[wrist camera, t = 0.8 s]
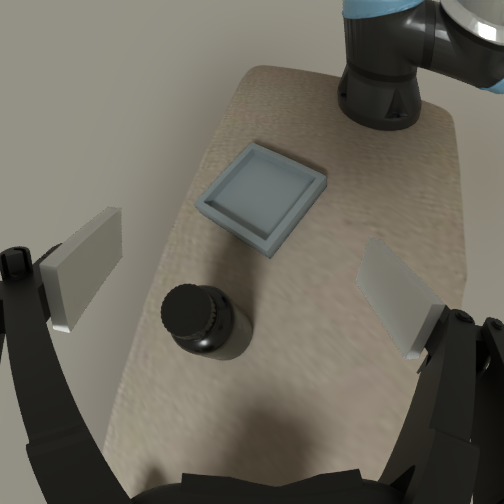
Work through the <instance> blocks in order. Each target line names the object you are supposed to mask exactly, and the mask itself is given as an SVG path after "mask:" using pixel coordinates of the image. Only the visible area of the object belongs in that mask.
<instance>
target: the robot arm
mask: <svg viewBox="0 0 504 504" xmlns="http://www.w3.org/2000/svg"><path fill="white" fill-rule="evenodd" d="M342 15H343V18H344V29H345V43H346V59H347V64H346V67H345V70H344V72H343V75H342V78H341V80H340V83H339V86H338V104H339V106H340V108H341V110H342V111H343V112H344V113H345V114H346V115H347V116H348V117H349V118H350V119H352V120H353V121H355V122H357V123H359V124H361V125H364V126H366V127H370V128H373V129H378V130H386V131H394V130H401V129H405V128H408V127H410V126H412V125H413V124H414V123H415V122H416V121H417V120H418V118H419V115H420V110H421V97H420V92H419V87H418V83H417V78H416V73H417V67H420V68H424V69H427V70H430V71H434V72H437V73H440V74H443V75H446V76H448V77H451V78H454V79H457V80H460V81H462V82H465V83H467V84H470V85H472V86H475V87H476V88H479V89H481V90H487V91H490V92H492V93H495V94H504V0H440V2H436V1H432V0H343V11H342ZM121 258H122V238H121V208H115V207H107V208H106V209H105V210H103V211H102V212H101V213H100V214H98V215H97V216H96V217H94V218H93V219H92V220H91V221H89V222H88V223H87V224H86V225H84V226H83V227H82V228H81V229H80V230H78V231H77V232H76V233H75V234H73V235H72V236H71V237H70V238H69V239H67V240H66V241H65V242H64V243H60V244H58V245H56V246H54V247H52V248H51V249H50V250H49V251H47V252H46V254H44V255H43V256H42V257H41V258H39V259H38V260H37V261H36V262H35V263H34V264H33V265H32V260H31V255H30V250H29V249H28V248H26V247H20V246H19V247H12V248H9V249H7V250H5V251H3V252H1V253H0V272H1V276H2V281H0V362H1V355H2V349H3V343H4V338H5V334H6V339H7V347H8V353H9V360H10V366H11V371H12V376H13V381H14V386H15V390H16V395H17V399H18V403H19V407H20V411H21V415H22V418H23V422H24V425H25V428H26V431H27V435H28V438H29V444H27V445H26V451H27V454H28V458H29V461H30V463H31V466H32V469H33V471H34V474H35V476H36V479H37V481H38V484H39V486H40V488H41V491H42V493H43V495H44V497H45V500H46V502H47V504H470V502H471V498H472V494H473V504H504V324H503V323H502V322H501V321H500V320H498V319H495V318H491V317H488V318H487V319H486V320H485V322H484V324H483V326H478V325H475V322H474V320H473V318H472V317H471V316H469V315H468V314H467V313H466V312H464V311H461V310H458V309H452V310H450V309H449V308H448V306H447V305H446V304H445V303H444V302H443V301H442V300H441V299H440V298H439V297H438V296H437V295H436V294H435V293H434V292H433V290H432V289H431V288H430V287H429V286H428V285H427V284H426V283H425V282H424V281H423V280H422V279H421V278H420V277H419V276H418V275H417V274H416V273H415V272H414V271H413V270H412V269H411V268H410V267H409V266H408V265H407V264H406V263H405V262H404V261H403V260H402V259H401V258H400V257H399V256H397V255H396V254H395V253H394V252H393V251H392V250H391V249H390V248H389V247H388V246H387V245H386V244H385V243H384V242H383V241H382V240H380V239H376V238H369V237H368V241H367V244H366V248H365V251H364V255H363V258H362V261H361V264H360V268H359V271H358V274H357V277H356V280H355V282H356V284H357V285H358V287H359V288H360V290H361V291H362V293H363V294H364V296H365V297H366V299H367V300H368V302H369V303H370V305H371V306H372V308H373V310H374V311H375V313H376V314H377V316H378V317H379V319H380V320H381V322H382V324H383V325H384V327H385V328H386V330H387V332H388V333H389V335H390V336H391V338H392V340H393V341H394V343H395V345H396V346H397V348H398V350H399V351H400V353H401V355H402V356H403V358H404V360H405V359H418V358H419V356H420V354H421V352H422V351H423V349H424V347H425V348H426V350H427V351H428V354H427V356H426V358H425V360H424V361H423V363H422V365H421V366H420V368H419V370H418V371H417V373H418V374H419V373H420V371H421V373H420V377H419V380H418V384H417V387H416V390H415V393H414V396H413V399H412V402H411V405H410V408H409V411H408V414H407V416H406V419H405V422H404V424H403V427H402V430H401V432H400V435H399V437H398V440H397V442H396V444H395V447H394V449H393V451H392V454H391V456H390V458H389V460H388V463H387V465H386V467H385V469H384V471H383V473H382V475H381V477H380V479H379V480H378V482H377V481H373V480H367V479H362V477H361V474H360V470H359V469H354V470H348V471H341V472H334V473H326V474H319V475H316V476H314V477H311V478H307V479H304V480H301V481H298V482H295V483H291V484H288V485H284V486H280V487H273V486H267V485H262V484H257V483H253V482H248V481H244V480H239V479H235V478H231V477H222V476H208V475H197V474H187V473H182V482H181V483H174V484H168V485H163V486H159V487H156V488H152V489H150V490H147V491H145V492H142V493H140V494H139V495H137V496H135V497H133V498H132V499H130V498H129V496H128V495H127V494H126V492H125V491H124V489H123V488H122V486H121V485H120V483H119V482H118V480H117V478H116V477H115V475H114V474H113V472H112V471H111V469H110V467H109V466H108V464H107V462H106V461H105V459H104V457H103V455H102V454H101V452H100V450H99V448H98V447H97V445H96V443H95V441H94V439H93V437H92V435H91V434H90V432H89V430H88V428H87V426H86V424H85V422H84V420H83V418H82V416H81V414H80V412H79V410H78V408H77V405H76V403H75V401H74V398H73V396H72V394H71V391H70V389H69V387H68V384H67V382H66V379H65V377H64V374H63V372H62V369H61V366H60V364H59V361H58V358H57V355H56V352H55V350H54V347H53V343H52V340H51V338H50V334H49V331H48V328H47V324H46V322H47V321H48V319H49V318H50V317H51V321H52V324H53V327H54V329H55V330H59V331H63V332H68V333H70V332H71V331H72V329H73V328H74V326H75V324H76V323H77V321H78V320H79V318H80V317H81V315H82V314H83V312H84V311H85V309H86V308H87V306H88V305H89V303H90V302H91V300H92V299H93V297H94V296H95V294H96V293H97V291H98V290H99V288H100V287H101V285H102V284H103V283H104V281H105V280H106V278H107V277H108V276H109V274H110V273H111V271H112V270H113V269H114V267H115V266H116V265H117V263H118V262H119V260H120V259H121ZM489 362H490V363H489ZM488 364H489V366H488V367H487V365H488ZM486 367H487V369H486ZM470 439H471V442H470Z"/></svg>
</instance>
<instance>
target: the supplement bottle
mask: <svg viewBox="0 0 504 504" xmlns="http://www.w3.org/2000/svg"><path fill="white" fill-rule="evenodd" d="M161 319H162V323H163V324H164V327H165V328H167V331H168V332H170V333H171V335H172V337H173V339H174V341H175V342H176V343H177V344H178V345H179V346H180V347H181V348H182V349H184V350H185V351H187V352H190V353H192V354H196V355H200V356H204V357H208V358H212V359H216V360H231V359H234V358H236V357H238V356H240V355H241V354H242V353H243V352H244V351H245V350H246V349H247V347H248V346H249V344H250V342H251V338H252V325H251V322H250V320H249V318H248V316H247V315H246V314H245V313H244V311H243V310H242V309H241V308H240V307H239V306H238V305H236V304H235V303H234V302H233V301H232V300H231V299H230V298H229V297H228V296H227V295H226V294H225V293H224V292H222V291H221V290H219V289H218V288H215V287H212V286H207V285H200V286H197V285H195V284H193V285H192V284H183V285H179V286H178V287H175V288H174V289H172V290H171V291H170V292H169V293H168V294H167V296H166V297H165V298H164V301H163V302H162V306H161Z"/></svg>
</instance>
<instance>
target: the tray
mask: <svg viewBox="0 0 504 504" xmlns="http://www.w3.org/2000/svg"><path fill="white" fill-rule="evenodd" d="M326 187H327V180H326V176H325V175H323V174H321V173H319V172H317V171H315V170H313V169H311V168H308V167H306V166H304V165H302V164H300V163H298V162H296V161H294V160H291V159H289V158H287V157H285V156H282V155H280V154H278V153H276V152H273V151H271V150H269V149H267V148H264V147H262V146H260V145H257V144H255V143H252V142H251V143H250V145H249V146H248V147H247V148H246V149H245V150H244V151H243V152H242V153H241V154H240V155H239V156H238V157H237V158H236V159H235V160H234V161H233V162H232V163H231V164H230V165H229V166H228V167H227V168H226V169H225V170H224V172H223V173H222V174H221V175H220V176H219V177H218V178H217V179H216V180H215V181H214V182H213V183H212V184H211V186H210V187H209V188H208V189H207V190H206V191H205V192H204V193H203V194H202V195H201V197H200V198H199V199H198V200H197V201H196V202H195V203H194V205H195V207H196V208H197V209H198V211H199V212H200V213H201V214H203V215H204V216H206V217H207V218H209V219H210V220H212V221H213V222H215V223H216V224H218V225H219V226H221V227H222V228H224V229H225V230H227V231H229V232H230V233H232V234H233V235H235V236H236V237H238V238H239V239H241V240H242V241H244V242H245V243H247V244H248V245H250V246H251V247H253V248H254V249H256V250H257V251H259V252H260V253H262V254H263V255H265V256H266V257H268V258H269V259H271V258H272V256H273V255H274V254H275V252H276V251H277V250H278V249H279V247H280V246H281V245H282V243H283V242H284V241H285V240H286V238H287V237H288V236H289V235H290V233H291V232H292V231H293V229H294V228H295V227H296V226H297V224H298V223H299V222H300V220H301V219H302V218H303V217H304V215H305V214H306V213H307V211H308V210H309V209H310V207H311V206H312V205H313V204H314V202H315V201H316V200H317V198H318V197H319V196H320V194H321V193H322V192H323V191H324V189H325V188H326Z"/></svg>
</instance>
